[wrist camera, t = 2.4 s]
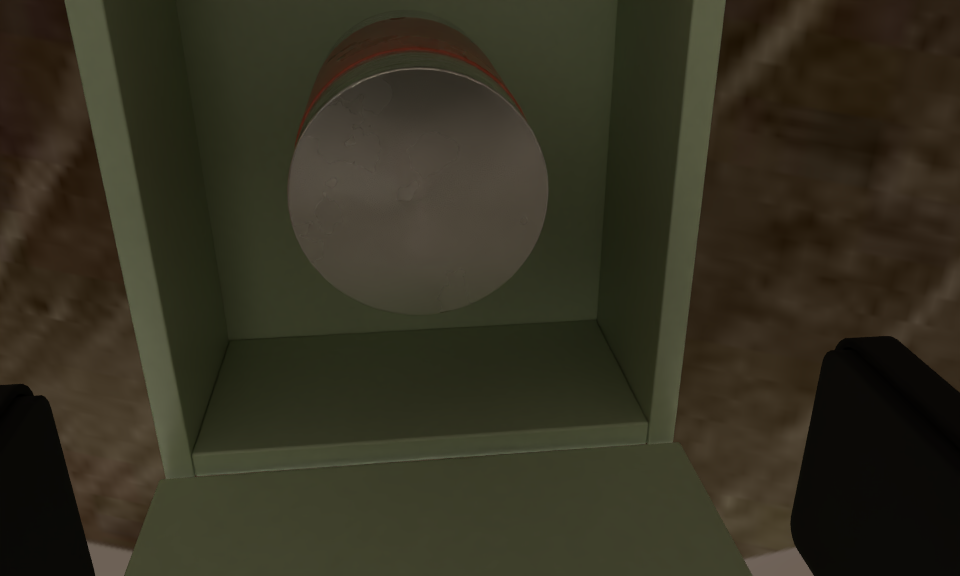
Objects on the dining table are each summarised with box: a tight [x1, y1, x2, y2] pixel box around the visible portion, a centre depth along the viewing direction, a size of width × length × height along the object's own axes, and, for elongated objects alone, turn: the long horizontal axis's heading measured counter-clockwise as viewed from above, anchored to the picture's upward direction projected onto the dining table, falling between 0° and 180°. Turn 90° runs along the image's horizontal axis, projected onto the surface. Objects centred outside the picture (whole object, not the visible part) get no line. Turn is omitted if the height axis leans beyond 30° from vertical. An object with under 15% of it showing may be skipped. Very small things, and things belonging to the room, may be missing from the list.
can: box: [287, 10, 549, 315], centre depth 22 cm, size 6×6×9 cm
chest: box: [64, 0, 726, 479], centre depth 24 cm, size 16×15×7 cm
